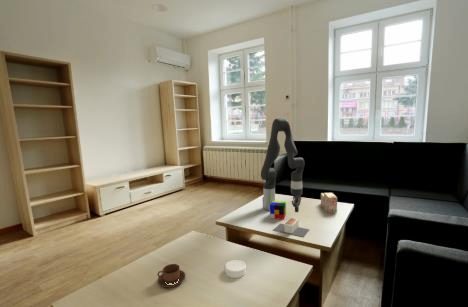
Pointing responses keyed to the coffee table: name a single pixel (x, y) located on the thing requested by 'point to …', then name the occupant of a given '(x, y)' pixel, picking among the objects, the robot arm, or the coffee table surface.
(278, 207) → the puzzle toy
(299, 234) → the mat
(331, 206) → the stack of blocks
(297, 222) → the tall block
